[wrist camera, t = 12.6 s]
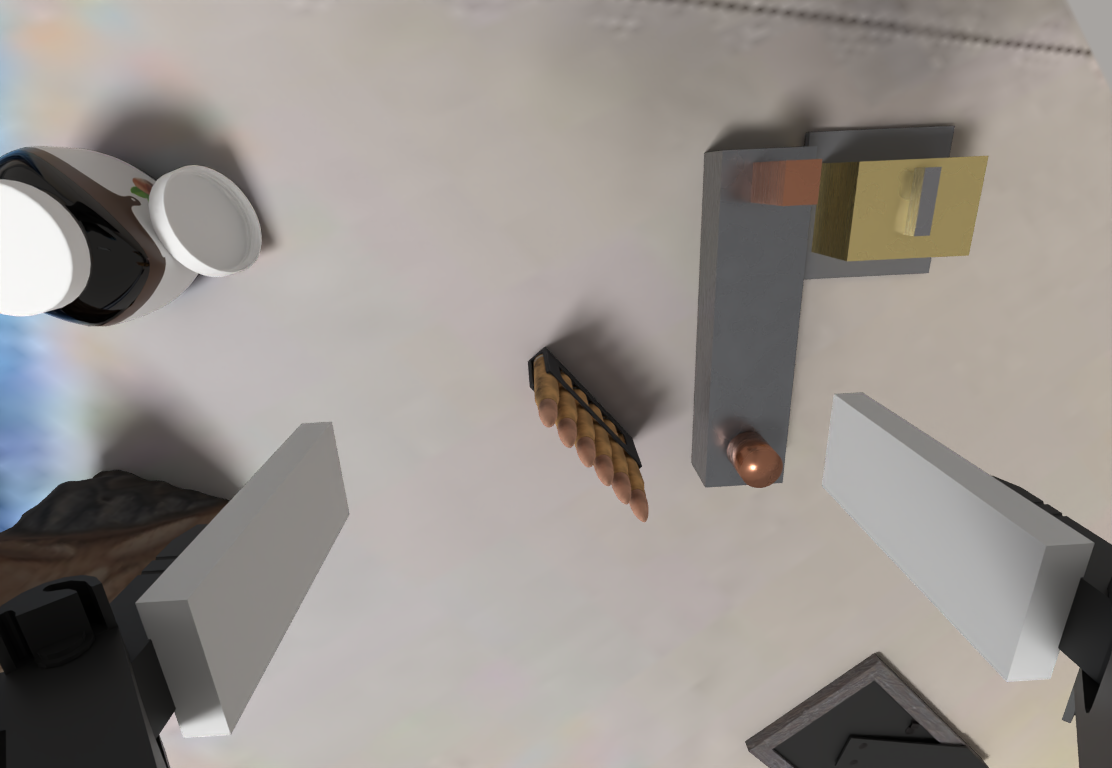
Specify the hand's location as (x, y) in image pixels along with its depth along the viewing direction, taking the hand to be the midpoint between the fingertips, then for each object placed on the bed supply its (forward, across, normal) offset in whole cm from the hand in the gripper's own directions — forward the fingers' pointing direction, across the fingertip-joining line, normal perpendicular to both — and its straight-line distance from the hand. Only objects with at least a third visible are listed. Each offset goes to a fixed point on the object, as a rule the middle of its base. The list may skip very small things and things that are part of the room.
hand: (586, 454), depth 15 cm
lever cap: (+28, +23, +4) cm, 37 cm away
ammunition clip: (+29, +2, -10) cm, 31 cm away
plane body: (+29, +14, -4) cm, 32 cm away
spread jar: (+29, -26, +5) cm, 39 cm away
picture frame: (+29, +31, -51) cm, 67 cm away
